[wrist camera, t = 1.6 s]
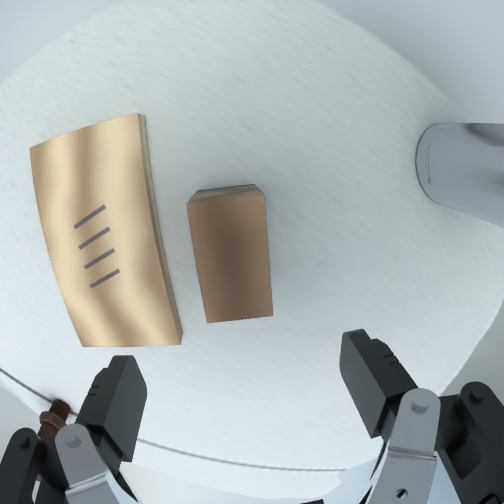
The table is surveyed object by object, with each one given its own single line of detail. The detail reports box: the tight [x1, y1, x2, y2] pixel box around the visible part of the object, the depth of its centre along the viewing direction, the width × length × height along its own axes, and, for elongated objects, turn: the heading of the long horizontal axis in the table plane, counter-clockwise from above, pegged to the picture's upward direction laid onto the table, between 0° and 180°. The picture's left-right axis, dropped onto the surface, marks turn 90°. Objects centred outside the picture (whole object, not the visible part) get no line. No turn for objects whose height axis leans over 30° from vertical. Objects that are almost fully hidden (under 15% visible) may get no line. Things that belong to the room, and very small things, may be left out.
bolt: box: [36, 400, 70, 482], centre depth 26 cm, size 6×5×15 cm
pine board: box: [30, 113, 183, 347], centre depth 24 cm, size 12×22×2 cm, turn 6°
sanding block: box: [187, 184, 273, 323], centre depth 23 cm, size 5×9×7 cm, turn 6°
